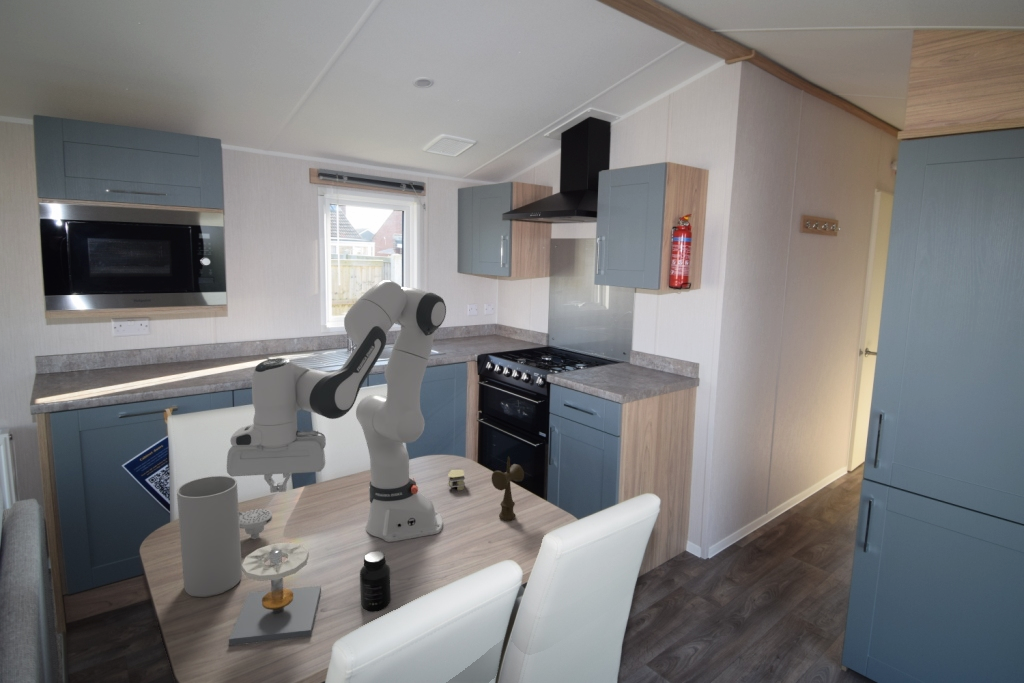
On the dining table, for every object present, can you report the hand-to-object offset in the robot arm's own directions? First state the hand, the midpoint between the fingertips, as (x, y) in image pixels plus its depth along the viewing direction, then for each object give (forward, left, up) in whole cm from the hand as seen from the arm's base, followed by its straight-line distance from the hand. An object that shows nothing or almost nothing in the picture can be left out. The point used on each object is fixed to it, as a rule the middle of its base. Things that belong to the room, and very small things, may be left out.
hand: (278, 491), depth 124 cm
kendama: (-59, -32, -27) cm, 73 cm away
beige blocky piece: (-46, -58, -28) cm, 79 cm away
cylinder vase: (+18, -10, -27) cm, 34 cm away
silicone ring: (0, +6, -14) cm, 15 cm away
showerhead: (+14, -32, -27) cm, 45 cm away
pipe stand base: (0, +6, -27) cm, 28 cm away
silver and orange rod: (0, +6, -26) cm, 26 cm away
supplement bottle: (-21, +5, -27) cm, 35 cm away
